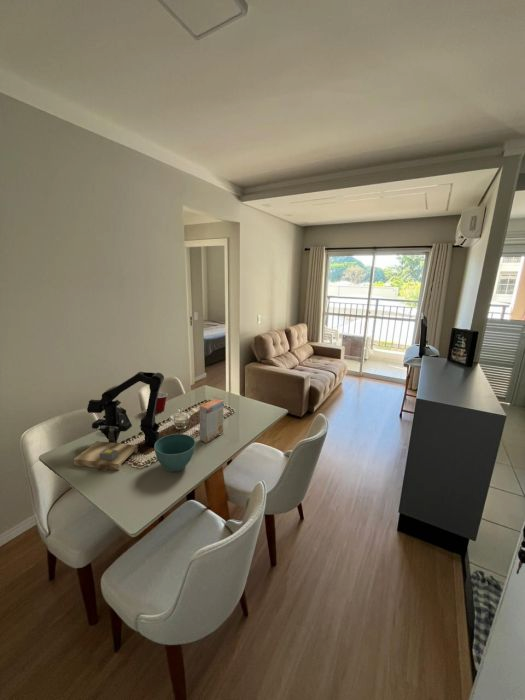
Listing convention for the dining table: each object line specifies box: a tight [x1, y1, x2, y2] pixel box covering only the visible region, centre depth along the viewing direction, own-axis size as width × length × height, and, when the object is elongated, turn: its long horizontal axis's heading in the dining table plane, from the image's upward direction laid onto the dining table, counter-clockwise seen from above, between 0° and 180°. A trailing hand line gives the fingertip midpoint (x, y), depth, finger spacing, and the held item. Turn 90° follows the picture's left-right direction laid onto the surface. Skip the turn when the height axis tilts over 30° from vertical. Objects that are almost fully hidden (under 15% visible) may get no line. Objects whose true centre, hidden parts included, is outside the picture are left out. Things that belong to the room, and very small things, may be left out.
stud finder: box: [100, 449, 118, 461], centre depth 133 cm, size 6×4×3 cm, turn 84°
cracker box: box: [198, 398, 224, 444], centre depth 161 cm, size 14×6×21 cm, turn 146°
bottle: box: [107, 427, 118, 443], centre depth 150 cm, size 4×4×10 cm
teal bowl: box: [154, 433, 196, 473], centre depth 133 cm, size 18×18×12 cm
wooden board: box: [73, 440, 138, 472], centre depth 138 cm, size 22×19×3 cm
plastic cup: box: [155, 391, 168, 413], centre depth 192 cm, size 11×11×12 cm
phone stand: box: [114, 406, 133, 430], centre depth 168 cm, size 9×6×12 cm, turn 142°
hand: (112, 439), depth 150 cm, fingers closed on bottle, 4 cm apart
